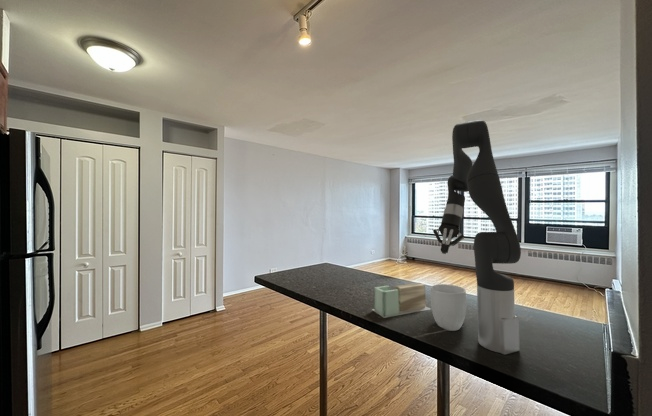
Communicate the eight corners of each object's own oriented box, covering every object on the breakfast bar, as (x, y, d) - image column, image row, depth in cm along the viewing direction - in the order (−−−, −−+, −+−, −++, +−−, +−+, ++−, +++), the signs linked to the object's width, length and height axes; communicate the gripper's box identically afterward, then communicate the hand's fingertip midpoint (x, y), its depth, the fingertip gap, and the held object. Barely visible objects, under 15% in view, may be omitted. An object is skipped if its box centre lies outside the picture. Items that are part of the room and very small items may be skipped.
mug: (451, 315, 99) (450, 280, 99) (480, 326, 90) (479, 288, 90) (424, 324, 92) (423, 287, 92) (453, 337, 82) (452, 295, 83)
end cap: (398, 313, 100) (398, 290, 101) (383, 316, 98) (383, 292, 98) (388, 307, 107) (388, 285, 107) (374, 310, 104) (374, 287, 105)
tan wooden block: (425, 307, 107) (425, 284, 107) (400, 311, 103) (400, 288, 103) (419, 304, 110) (419, 282, 110) (395, 308, 106) (395, 285, 106)
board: (431, 310, 104) (431, 309, 104) (383, 319, 97) (383, 317, 97) (416, 303, 113) (416, 301, 113) (371, 310, 105) (371, 309, 105)
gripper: (435, 210, 117) (426, 247, 113) (469, 215, 110) (460, 255, 106) (437, 216, 123) (428, 251, 119) (469, 221, 116) (461, 259, 112)
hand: (443, 253), depth 112 cm, fingers closed
